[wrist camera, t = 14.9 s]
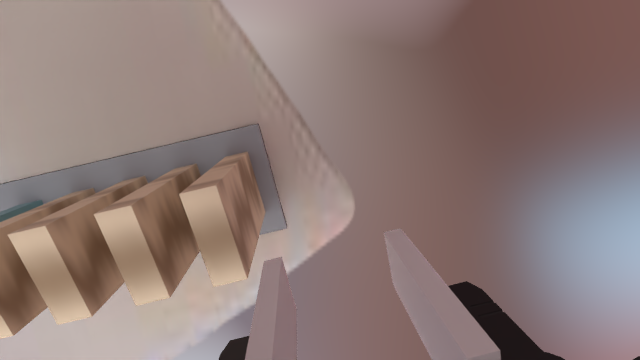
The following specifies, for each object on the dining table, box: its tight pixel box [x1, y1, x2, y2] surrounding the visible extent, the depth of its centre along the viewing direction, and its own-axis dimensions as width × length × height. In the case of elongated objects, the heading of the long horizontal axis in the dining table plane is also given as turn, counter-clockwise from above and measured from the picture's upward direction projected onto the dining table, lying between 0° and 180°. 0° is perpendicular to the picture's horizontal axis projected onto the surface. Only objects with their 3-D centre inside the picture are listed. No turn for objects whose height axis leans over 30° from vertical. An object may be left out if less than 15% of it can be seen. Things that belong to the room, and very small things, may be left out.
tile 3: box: [8, 176, 148, 325], centre depth 26 cm, size 7×2×13 cm, turn 13°
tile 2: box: [94, 164, 201, 306], centre depth 26 cm, size 7×2×13 cm, turn 13°
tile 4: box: [0, 188, 96, 339], centre depth 26 cm, size 7×2×13 cm, turn 13°
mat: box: [0, 124, 287, 235], centre depth 33 cm, size 12×32×1 cm, turn 103°
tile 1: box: [179, 152, 265, 287], centre depth 26 cm, size 7×2×13 cm, turn 12°
